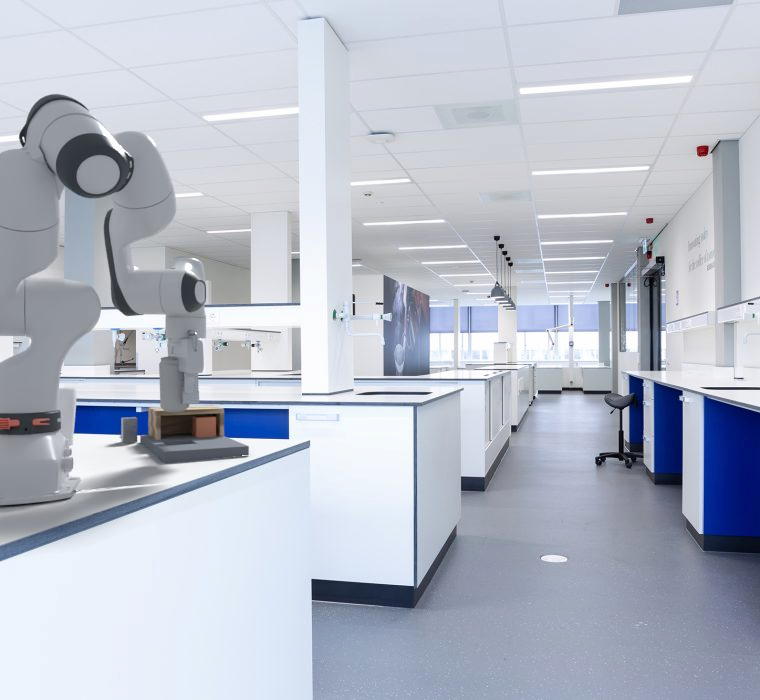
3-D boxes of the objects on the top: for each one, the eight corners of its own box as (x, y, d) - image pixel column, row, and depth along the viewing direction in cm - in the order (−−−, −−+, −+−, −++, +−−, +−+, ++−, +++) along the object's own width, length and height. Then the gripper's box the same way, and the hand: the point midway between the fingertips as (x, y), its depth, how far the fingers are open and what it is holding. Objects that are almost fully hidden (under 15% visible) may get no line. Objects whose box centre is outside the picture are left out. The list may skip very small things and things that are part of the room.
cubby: (224, 436, 182) (224, 408, 182) (156, 439, 174) (156, 411, 174) (212, 431, 192) (212, 405, 192) (148, 434, 184) (148, 407, 184)
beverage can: (178, 414, 155) (177, 360, 153) (154, 411, 157) (152, 358, 156) (195, 407, 161) (194, 356, 159) (171, 405, 163) (170, 354, 162)
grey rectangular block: (218, 402, 158) (217, 371, 159) (183, 403, 155) (182, 372, 155) (197, 403, 177) (197, 375, 177) (165, 405, 173) (164, 376, 173)
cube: (215, 436, 181) (215, 417, 181) (196, 437, 179) (196, 417, 179) (211, 434, 185) (211, 415, 185) (192, 435, 183) (192, 416, 183)
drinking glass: (81, 445, 182) (81, 387, 182) (67, 448, 175) (67, 389, 175) (56, 445, 183) (56, 387, 183) (41, 448, 176) (41, 389, 176)
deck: (248, 456, 162) (248, 446, 162) (164, 462, 154) (164, 451, 154) (212, 440, 192) (212, 431, 192) (140, 444, 183) (140, 435, 183)
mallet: (137, 444, 183) (137, 418, 183) (123, 445, 182) (123, 418, 182) (129, 439, 195) (129, 414, 195) (116, 439, 194) (116, 414, 194)
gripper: (211, 330, 149) (211, 394, 149) (190, 331, 167) (190, 389, 167) (181, 329, 146) (180, 395, 146) (163, 331, 164) (163, 390, 164)
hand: (185, 392), depth 157 cm, fingers closed on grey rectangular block, 4 cm apart
